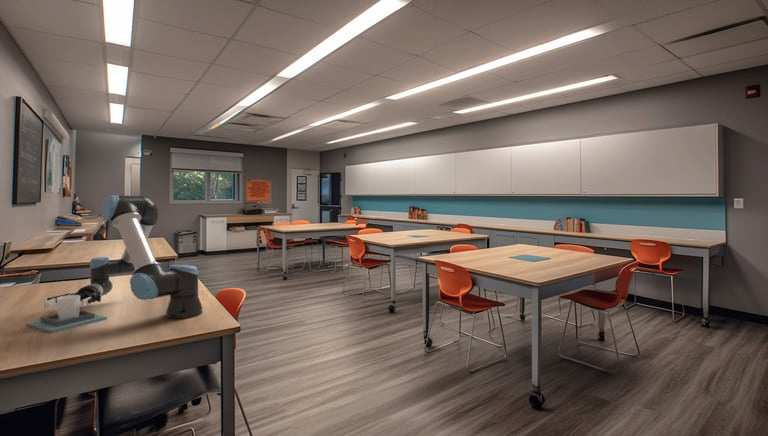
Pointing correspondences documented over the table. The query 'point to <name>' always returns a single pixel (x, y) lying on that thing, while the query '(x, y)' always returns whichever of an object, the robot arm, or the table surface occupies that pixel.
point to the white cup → (68, 306)
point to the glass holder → (65, 321)
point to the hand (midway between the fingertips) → (64, 304)
